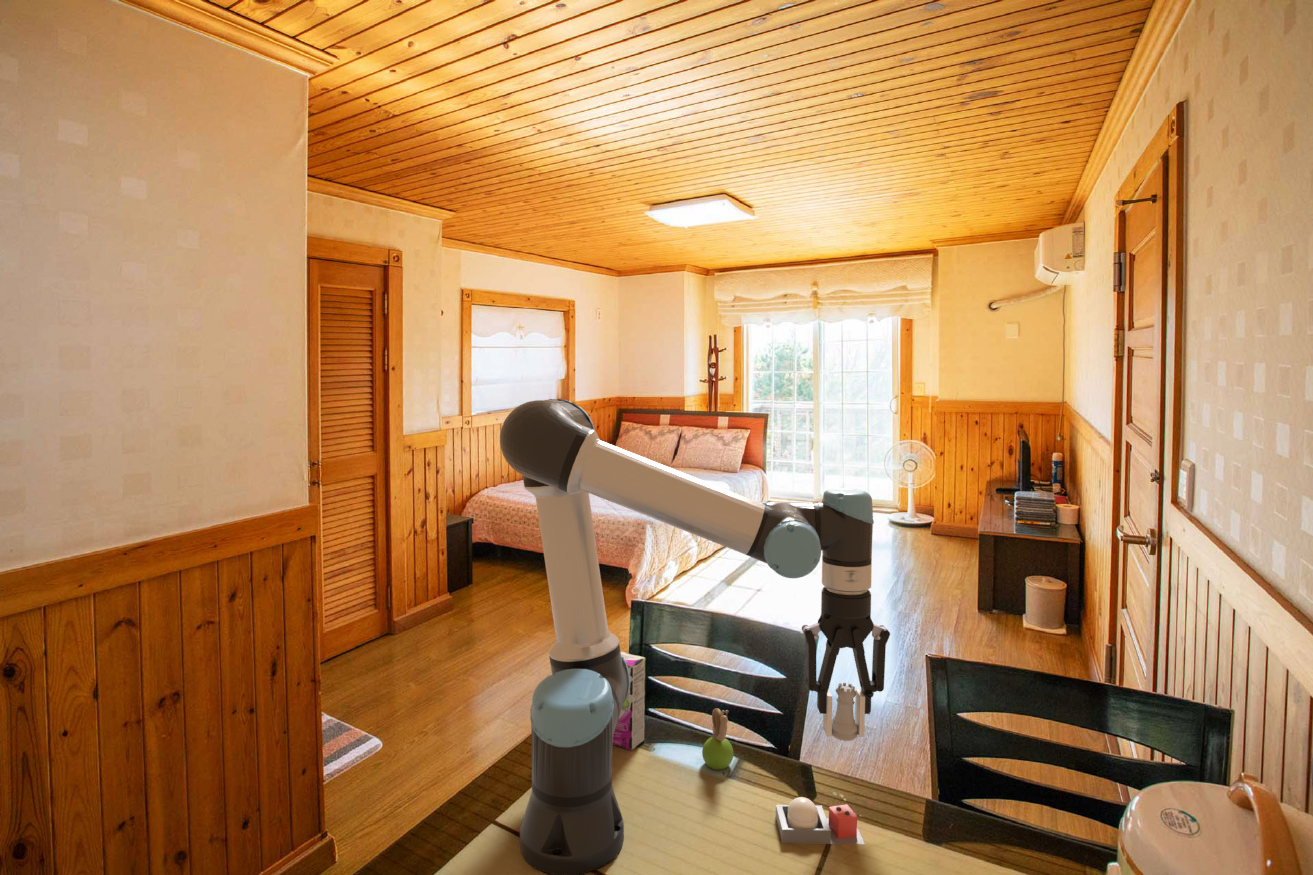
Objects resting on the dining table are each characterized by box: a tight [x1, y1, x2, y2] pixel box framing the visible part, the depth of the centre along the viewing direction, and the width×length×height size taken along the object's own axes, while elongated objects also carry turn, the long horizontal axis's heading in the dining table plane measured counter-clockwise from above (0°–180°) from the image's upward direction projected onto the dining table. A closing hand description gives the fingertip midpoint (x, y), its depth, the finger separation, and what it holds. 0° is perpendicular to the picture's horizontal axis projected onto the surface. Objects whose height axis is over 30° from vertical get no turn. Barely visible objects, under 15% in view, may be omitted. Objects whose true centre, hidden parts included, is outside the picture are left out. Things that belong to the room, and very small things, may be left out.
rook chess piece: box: [831, 682, 859, 742], centre depth 109 cm, size 4×4×8 cm
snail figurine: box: [701, 707, 734, 771], centre depth 120 cm, size 5×6×12 cm
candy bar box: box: [612, 651, 646, 752], centre depth 130 cm, size 11×5×16 cm, turn 60°
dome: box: [787, 796, 818, 829], centre depth 103 cm, size 4×4×4 cm
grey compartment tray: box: [775, 803, 866, 846], centre depth 103 cm, size 12×6×4 cm, turn 89°
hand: (843, 731), depth 109 cm, fingers closed on rook chess piece, 4 cm apart
